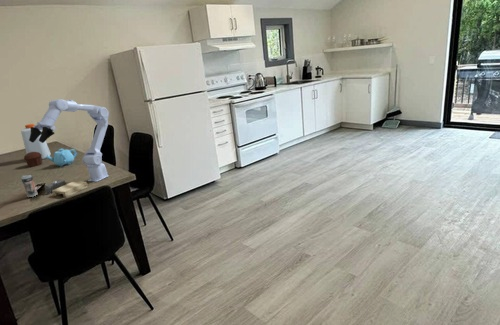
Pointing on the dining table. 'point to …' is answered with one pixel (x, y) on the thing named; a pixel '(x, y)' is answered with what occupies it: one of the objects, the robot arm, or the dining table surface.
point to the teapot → (63, 157)
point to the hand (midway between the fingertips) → (35, 141)
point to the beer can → (29, 186)
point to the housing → (54, 186)
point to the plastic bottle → (34, 143)
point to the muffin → (33, 159)
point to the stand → (70, 188)
